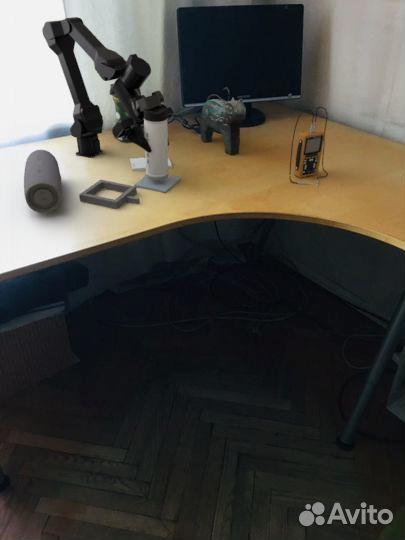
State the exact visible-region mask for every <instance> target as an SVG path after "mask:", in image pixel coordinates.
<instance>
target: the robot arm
mask: <svg viewBox="0 0 405 540" xmlns="http://www.w3.org/2000/svg"><path fill="white" fill-rule="evenodd" d="M41 30H42V31H41V32H42V36H43V38H44V40H45V41H46V44H47V46H48V47H49V49H50V50H51V51H52V52H53V53H54V54H55V55H56V56H57V58H58V60H59V63H60V67H61V69H62V73H63V76H64V79H65V81H66V84H67V87H68V90H69V93H70V97H71V98H72V102H73V105H74V106H73V112H72V118H73V123H72V125H71V127H70V128H69V131H70V135H71V137H73V138H76V144H77V149H78V151H77V152H75V155H76V156H80V157H81V156H82V157H88V158H94V157H95V156H97V155H100V154H101V153H102V152H103V149H101V142H100V141H101V140H100V139H99V134H102V133H103V127H104V119H103V115H102V112H101V110H100V106H99V105H98V104H94V103H93V101H91V99H90V96H89V93H88V91H87V87H86V84H85V81H84V78H83V76H82V72H81V69H80V66H79V63H78V60H77V57H76V55H75V45H76V44H77V45H78V46H79V47H80V48H81V49H82V50H83V51H84V53H86V55H88V57H89V58H90V59H91V60H92V62H93V64H94V65H93V66H94V70H95V71H96V73H97V74H98V76H99V77H100V78H101V80H102V81H105V82H108V81H113V80H114V82H113V83H112V84H110V89H109V95H110V96H112V95H113V94H116V96H117V97H118V99H119V101H120V103H121V104H122V106H123V109H122V112H123V113H127V115H128V116H129V117H126V118H123V119H119V120H118V121H117V123H116V122H115V124H114V126H113V127H112V129H111V132H112V135H113V137H114V139H115V140H118V138H121V137H124V136H125V137H124V139H128V140H130V142H132V143H134V144H135V145H136V146H138V147H140V148H141V149H143V150H144V151H145V150H146V151H147V152H148V153H150V152H151V151H152V150H151V148H150V146H149V144H148V142H147V140H146V139H145V134H144V135H143V133H142V129H141V126H143V127H144V109H145V110H149V109H152V108H154V107H157V106H159V107H160V106H162V105H161V104H163V103H164V102H165V98H164V95H163V94H162V92H161V90H155V91H153V92H152V91H151V95H148V96H145V95H144V94H141V95H140V94H139V92H138V91H137V89H139V88H140V89H141V87H142V86H143V85H144V83H145V82H146V80H147V79H148V78H149V76H150V75H151V73H152V68H151V65H150V64H149V62H147V61H146V60H145V59H143V58H142V57H139V56H138V55H137V53H132V54H129V56H128V57H127V60H126V59H125V58H124V56H122V55H121V54H119V53H118V52H117V51H115V50H112V49H110V48H108V47H107V46H105V45H104V44H103V43H102V42H101V41H100V40H99V39H98V38H97V36H96V35H94V33H93V32H92V31H91V29H90V28H88V27H87V26H86V25H85V22H84V21H83V19H82V18H80V17H79V16H74V17H73V16H72V17H65V18H64V19H60V20H52V21H51V20H50V21H49V20H48V21H45V22H44V25H43V27H42V29H41ZM165 106H166V107H167V122H168V121H169V120H170V119H171V117H173V115H174V114H175V112H174V110H173V109H172V107H171V106H170V105H169V106H168V105H165ZM125 134H126V135H125ZM169 145H170V141H169V140H168V147H169Z"/></svg>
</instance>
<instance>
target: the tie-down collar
mask: <svg viewBox="0 0 405 540" xmlns="http://www.w3.org/2000/svg"><path fill="white" fill-rule="evenodd" d="M103 189H104V190H108V191H113V192H117V193H122V194H120V195H119V196H118V197H116V198H115V199H113V198H109V197H106V196H105V197H104V196H99V195H96V194H97V193H98V192H100V191H101V190H103ZM136 195H137V187H135V186H134V185H131V184H125V183H121V182H115V181H109V180H104V179H99V180H97V182H95V183H94V184H92V185H90V186H89V187H87V188H85V190H83V191H82V192H80V193H79V202H83V203H88V204H92V205H96V206H99V207H100V206H101V207H104V208H110V209H114V210H119V208H121V207H122V206H124V205H125V204H126V203H130V204H134V205H139V204H140V203H141V201H140V199H141V198H140V197H138V196H137V197H136Z"/></svg>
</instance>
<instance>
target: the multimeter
mask: <svg viewBox="0 0 405 540" xmlns="http://www.w3.org/2000/svg"><path fill="white" fill-rule="evenodd" d="M319 109H323V110H324V112H325V114H326V116H328V112H327V109H326V108H325V107H323V106H318V107H317V108H316V112H315V115H314V112H313V111H312V110H311V109H305V110H303V111H301V112H300V114H299V116H297V120H296V123H295V126H294V129H293V134H292V135H293V136H292V142H291V148H290V149H291V151H290V161H289V162H290V163H289V174H291V173H292V172H291V170H292V169H291V167H292V156H293V148H294V147H293V146H294V138H295V133H296V130H297V129H296V128H297V125H298V122H299V119H300V117H301V115H302V114H303V113H304V112H305V111H306V112H307V111H308V112H311V114H312V120H311V125H310V130H309V131H303V132H300V133H299V134H298V135H299V136H298V142H297V148H296V156H295V164H294V165H295V166H294V171H293V174H294V176H296V177H297V178H300V179H302V178H305V177H310V176H316V175H318V173H319V170H320V169H319V168H320V164H321V165H322V170H323V171H324V172H325V173H326V175H324V176H323V175H322V178H325V177H328V172H327V171H326V170H325V169H324V155H325V146H324V145H326V144H325V137H326V129H327V128H326V127H327V124H328V123H327V122H328V117H325V118H326V119H325V124H324V131H322V130H320V129H316V124H317V123H316V122H317V117H318V110H319ZM314 117H315V118H314ZM321 159H322V161H321ZM319 178H320V176H317V177H316V183H315V185H316V187H318V185H319ZM289 181H290V182H291V183H293V184H297V185H313V183H311V182H310V183H309V182H303V181H302V182H300V181H297V182H295V181H294V182H293V181H292V179H291V177H289Z"/></svg>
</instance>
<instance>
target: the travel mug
mask: <svg viewBox="0 0 405 540" xmlns="http://www.w3.org/2000/svg"><path fill="white" fill-rule="evenodd" d="M161 105H162V106H160V107H159V106H157V107H154V108H152V109H149V110H145V109H144V125H143V129H144V137H145V139H146V140H147V142H148V144H149V146H150V148H151V150H152V151H151V152H150V153H148V152H147V151H146V150H144V152H145V153H144V155H145V157H144V158H146V170H145V176H146V177H147V178H148V179H150V180H154V181H160V180H164V179H166V178H167V177H168V175H169V169H168V158H169V155H168V154H169V150H168V149H169V148H168V147H169V146H168V141H169V137H168V132H169V131H168V121H167V107H166V106H167V105H165V104H163V103H161Z"/></svg>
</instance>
